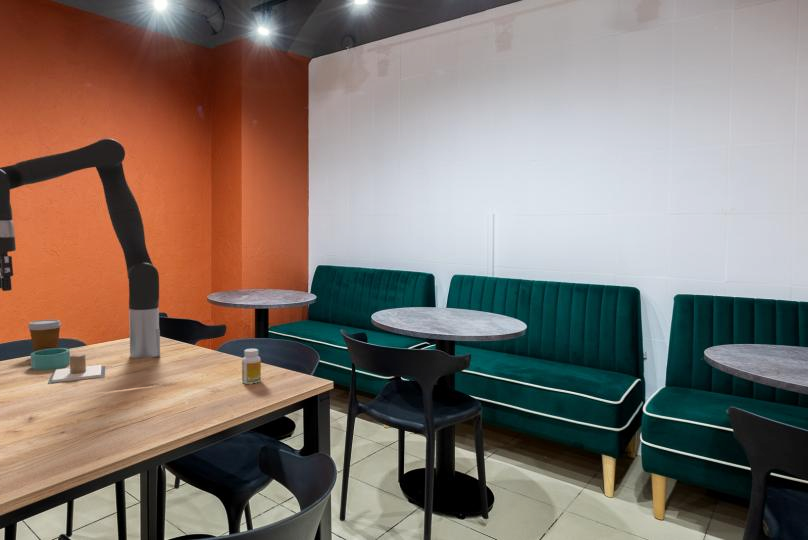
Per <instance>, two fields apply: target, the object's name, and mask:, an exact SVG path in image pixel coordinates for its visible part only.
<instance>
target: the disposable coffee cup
mask: <svg viewBox="0 0 808 540" xmlns="http://www.w3.org/2000/svg"><path fill="white" fill-rule="evenodd" d="M61 326H62V323H61V320H59V319H41V320H40V319H39V320H32V321H30V322H29V323H28V326H27V328H28V330H29V334H30V338H31V343H32V349H33V352H35V351H39V350H44V349H53V348H59V347H58V346H59V340H60V338H59V337H60V332H61V331H60V329H61Z"/></svg>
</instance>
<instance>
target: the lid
mask: <svg viewBox="0 0 808 540" xmlns="http://www.w3.org/2000/svg"><path fill="white" fill-rule="evenodd" d="M102 366H103V365H102V364H97V365H87V363H86V354H83V353H79V354H72V355H70V365H69V367H67V368H65V367H64V368H58V369H55V374H54V376H53V379H52V383H54V382H63V381H72V380H80V379H89V378H98V377H101V369H102ZM98 379H99V378H98ZM72 382H73V381H72Z"/></svg>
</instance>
